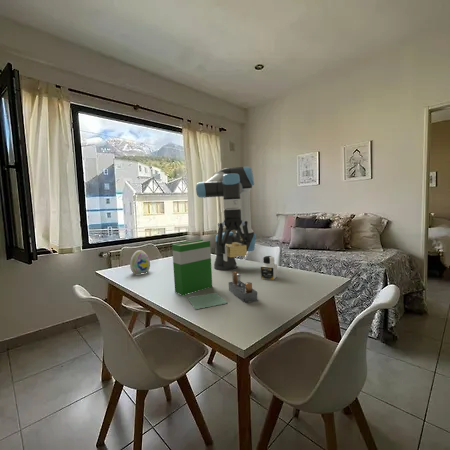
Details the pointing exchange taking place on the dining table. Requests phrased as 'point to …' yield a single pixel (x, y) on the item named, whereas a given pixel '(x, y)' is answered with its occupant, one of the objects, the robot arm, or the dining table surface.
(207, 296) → the mat
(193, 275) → the hardback book
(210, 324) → the dining table surface
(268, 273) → the medicine bottle
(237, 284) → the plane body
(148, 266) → the decorative egg
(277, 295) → the dining table surface
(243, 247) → the lever cap
